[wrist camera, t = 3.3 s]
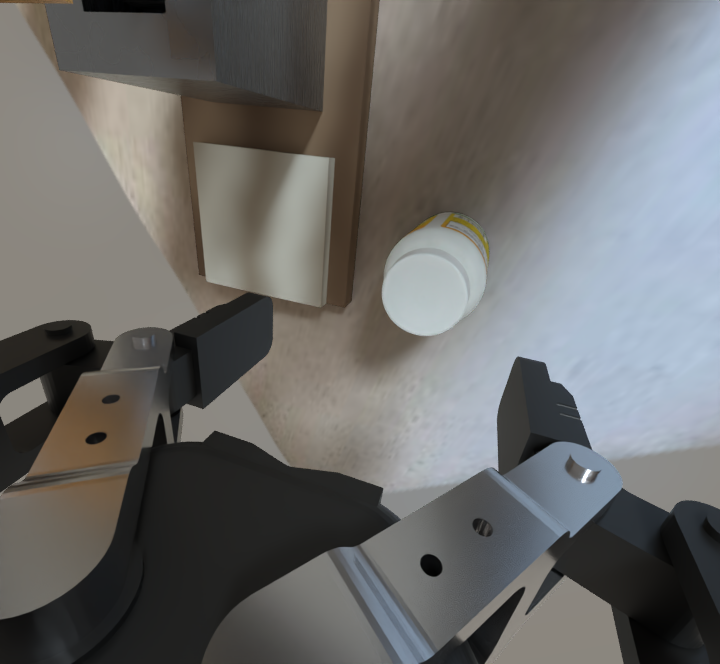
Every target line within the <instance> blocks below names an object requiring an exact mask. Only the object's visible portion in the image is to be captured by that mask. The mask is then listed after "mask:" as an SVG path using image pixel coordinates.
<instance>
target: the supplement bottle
mask: <svg viewBox="0 0 720 664" xmlns="http://www.w3.org/2000/svg"><path fill="white" fill-rule="evenodd" d="M488 261H489V243H488V240H487V237H486V234H485V232H484V231H483V229H482V228H481V226H480V225H479V224H478V223H477V222H476V221H474V220H473V219H471V218H470V217H468V216H466V215H463V214H460V213H455V212H446V213H440V214H437V215H434V216H432V217H430V218H428V219H427V220H425V221H424V222H422V223H421V224H420V225H419V226H418V227H416V228H415V229H414V230H412V231H411V232H410V233H409V234H407V235H406V236H404V237H403V238H402V239H401V240H400V241H399V242H398V243H397V244H396V245H395V247H394V248H393V249H392V251H391V252H390V254H389V256H388V258H387V261H386V264H385V268H384V282H383V285H382V301H383V305H384V308H385V310H386V312H387V314H388V316H389V317H390V319H391V320H392V321H393V322H394V323H395V324H396V325H397V326H398V327H400V328H401V329H403V330H404V331H406V332H409V333H411V334H415V335H419V336H433V335H438V334H441V333H444V332H445V331H447V330H449V329H451V328H452V327H453V326H454V325H456V324H457V323H458V321H460V320H462V319H463V318H465V317H466V316H468V315H469V314H470V313H471V312H472V311H473V310H474V309H475V308H476V306H477V305H478V303H479V302H480V300H481V298H482V296H483V293H484V290H485V287H486V281H487V271H488Z"/></svg>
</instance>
